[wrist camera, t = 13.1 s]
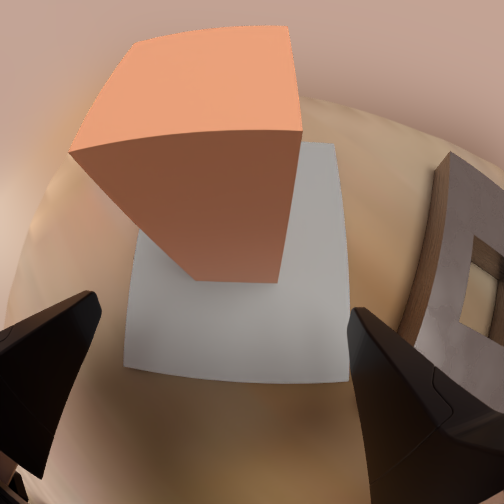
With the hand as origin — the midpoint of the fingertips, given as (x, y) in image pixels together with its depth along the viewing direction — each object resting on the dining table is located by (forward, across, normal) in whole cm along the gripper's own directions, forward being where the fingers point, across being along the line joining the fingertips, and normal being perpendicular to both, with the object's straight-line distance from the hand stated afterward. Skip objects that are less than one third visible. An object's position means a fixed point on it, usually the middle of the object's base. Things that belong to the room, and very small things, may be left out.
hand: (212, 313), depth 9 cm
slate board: (+9, 0, +2) cm, 9 cm away
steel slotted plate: (+7, -18, +5) cm, 20 cm away
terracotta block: (+9, 0, +2) cm, 9 cm away
